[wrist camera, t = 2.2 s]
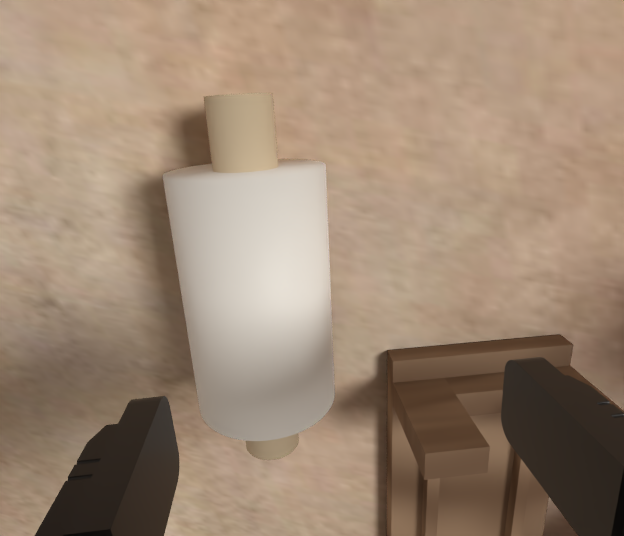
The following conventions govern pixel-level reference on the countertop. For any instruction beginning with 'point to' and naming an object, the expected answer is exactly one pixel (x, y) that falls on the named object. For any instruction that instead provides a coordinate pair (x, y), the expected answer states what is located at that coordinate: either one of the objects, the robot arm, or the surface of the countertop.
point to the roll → (254, 279)
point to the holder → (461, 440)
